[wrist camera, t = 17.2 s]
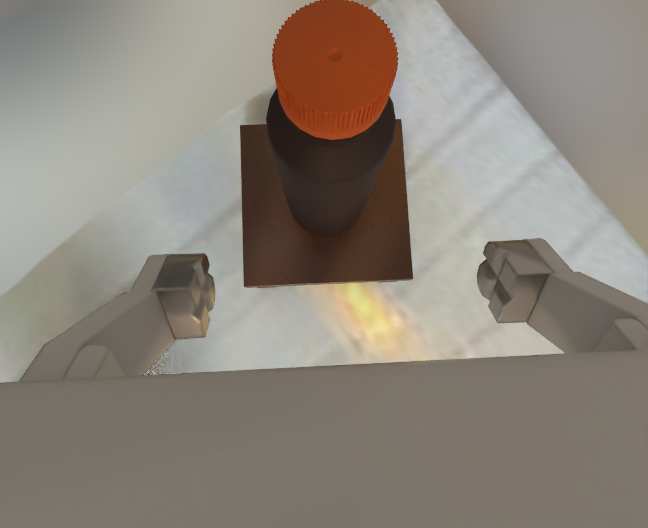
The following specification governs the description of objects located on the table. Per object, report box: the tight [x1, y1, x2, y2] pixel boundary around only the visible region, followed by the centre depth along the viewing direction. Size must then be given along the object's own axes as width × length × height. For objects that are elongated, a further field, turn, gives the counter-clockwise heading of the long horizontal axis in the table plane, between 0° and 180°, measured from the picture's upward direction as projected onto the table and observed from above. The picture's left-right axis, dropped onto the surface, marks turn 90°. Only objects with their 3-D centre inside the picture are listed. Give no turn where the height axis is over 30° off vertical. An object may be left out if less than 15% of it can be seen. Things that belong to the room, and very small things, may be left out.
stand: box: [240, 119, 413, 288], centre depth 37 cm, size 15×15×6 cm
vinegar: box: [266, 0, 398, 236], centre depth 25 cm, size 7×7×20 cm
